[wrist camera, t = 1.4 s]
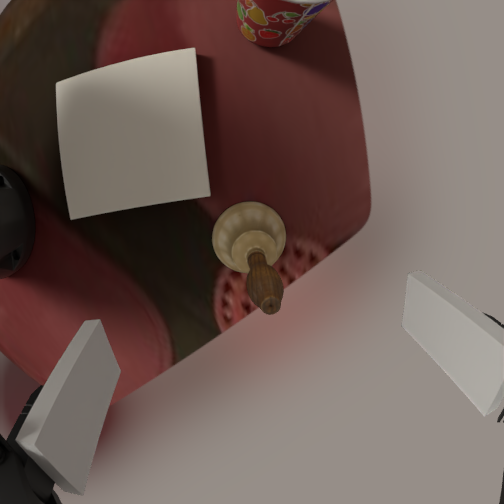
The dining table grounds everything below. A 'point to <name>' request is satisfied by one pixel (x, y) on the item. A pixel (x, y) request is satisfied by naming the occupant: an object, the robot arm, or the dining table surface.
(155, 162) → the stand
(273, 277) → the hand bell
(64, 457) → the robot arm
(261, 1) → the smoothie
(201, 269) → the dining table surface
